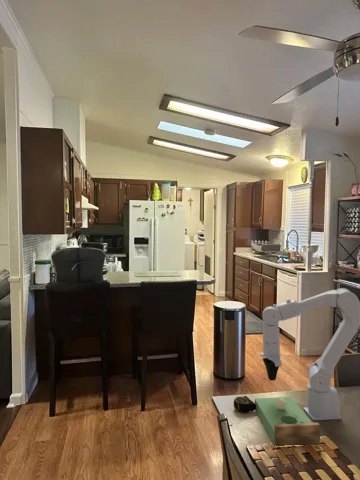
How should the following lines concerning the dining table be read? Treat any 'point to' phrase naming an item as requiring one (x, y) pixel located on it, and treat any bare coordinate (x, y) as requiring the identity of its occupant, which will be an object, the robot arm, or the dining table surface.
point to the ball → (281, 404)
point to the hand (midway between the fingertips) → (272, 379)
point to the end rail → (297, 433)
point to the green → (279, 415)
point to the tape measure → (244, 404)
